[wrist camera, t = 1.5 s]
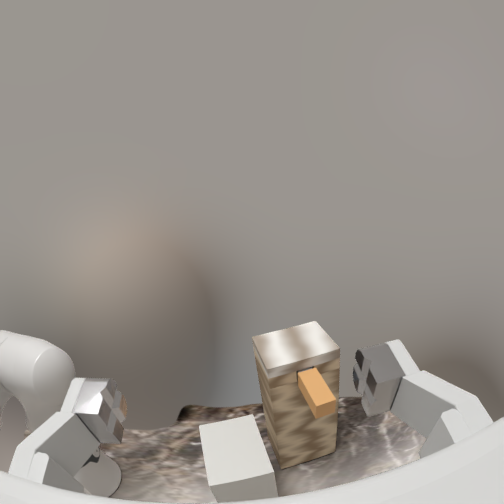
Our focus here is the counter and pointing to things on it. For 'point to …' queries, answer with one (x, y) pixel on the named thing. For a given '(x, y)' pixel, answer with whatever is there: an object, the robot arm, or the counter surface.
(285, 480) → the counter surface
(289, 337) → the socket tower
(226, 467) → the pedestal
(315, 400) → the plug
